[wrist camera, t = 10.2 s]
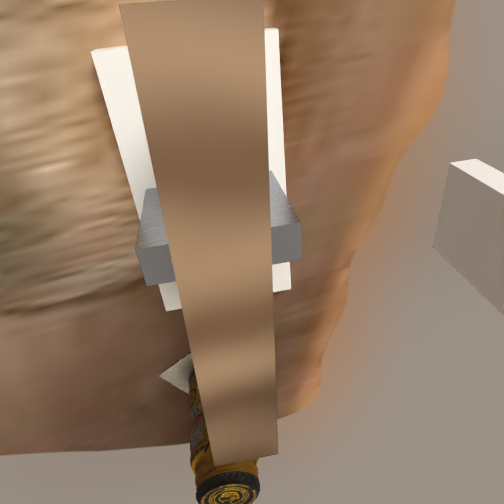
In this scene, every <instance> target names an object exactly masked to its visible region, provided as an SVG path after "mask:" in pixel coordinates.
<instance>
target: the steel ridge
mask: <svg viewBox="0 0 504 504" xmlns="http://www.w3.org/2000/svg"><path fill="white" fill-rule="evenodd" d="M269 186H270V217H271V248H272V265H274V264H280V263H285V262H291V261H297V260H302V246H301V222H300V220H299V218H298V216H297V215H296V213H295V211H294V209H293V207H292V206H291V204H290V202H289V200H288V199H287V197H286V195H285V193H284V192H283V190H282V188H281V186H280V184H279V183H278V181H277V179H276V177H275V176H274V174H273V172H272V170H269ZM135 250H136V253H137V257H138V260H139V263H140V266H141V269H142V273H143V276H144V279H145V282H146V285H147V286H152V285H158V284H164V283H169V282H175V281H176V278H175V273H174V268H173V263H172V259H171V254H170V249H169V244H168V239H167V235H166V230H165V225H164V220H163V215H162V210H161V206H160V201H159V196H158V191H157V188H151V189H146V191H145V197H144V202H143V208H142V214H141V219H140V225H139V231H138V237H137V242H136V248H135Z"/></svg>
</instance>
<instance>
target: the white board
mask: <svg viewBox="0 0 504 504" xmlns="http://www.w3.org/2000/svg"><path fill="white" fill-rule="evenodd" d="M264 32H265V63H266V94H267V124H268V155H269V170H272V172H273V174H274V176H275V177H276V179H277V181H278V183H279V184H280V186H281V188H282V190H283V192H284V193H285V195H286V178H285V158H284V138H283V117H282V97H281V77H280V57H279V37H278V29H276V28H267V29H264ZM91 54H92V58H93V61H94V64H95V68H96V71H97V75H98V78H99V82H100V85H101V88H102V92H103V95H104V99H105V102H106V106H107V109H108V113H109V116H110V119H111V123H112V126H113V130H114V133H115V137H116V140H117V144H118V147H119V150H120V154H121V157H122V161H123V164H124V168H125V171H126V174H127V178H128V181H129V185H130V188H131V192H132V195H133V199H134V202H135V205H136V209H137V212H138V216H139V219H141V214H142V208H143V202H144V197H145V191H146V189H151V188H157V186H156V182H155V177H154V172H153V167H152V162H151V158H150V153H149V148H148V143H147V138H146V134H145V129H144V124H143V119H142V114H141V110H140V105H139V100H138V95H137V90H136V86H135V81H134V76H133V71H132V66H131V61H130V57H129V52H128V47H127V45H126V46H118V47H110V48H101V49H95V50H93V51H91ZM272 278H273V292H277V291H283V290H289V289H291V279H290V262H285V263H280V264H274V265H272ZM158 285H159V288H160V291H161V295H162V298H163V302H164V305H165V309H166V311H171V310H176V309H182V307H181V302H180V297H179V292H178V287H177V283H176V281H175V282H169V283H164V284H158Z"/></svg>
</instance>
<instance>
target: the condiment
mask: <svg viewBox="0 0 504 504" xmlns="http://www.w3.org/2000/svg"><path fill="white" fill-rule="evenodd" d="M159 376H160V377H161V378H163V379H164V380H166V381H168V382H170V383H171V384H172V385H174V386H176V387H178V388H179V389H180V390H183V391H184V392H186V393H188V394H189V408H190V422H189V423H190V450H191V458H190V462H191V467H192V470H193V472H194V474H195V475H196V477H195V483H196V487H197V488H196V490H197V493H196V499H197V501H198V503H199V504H252V503H253V501H254V500H255V499H256V498H257V496H258V494H259V492H260V483H259V479H258V468H257V466H256V465H257V463H258V459H259V458H255V459H250V460H245V461H240V462H234V463H229V464H224V465H219V466H215V465H214V460H213V456H212V451H211V446H210V441H209V436H208V432H207V427H206V422H205V417H204V412H203V408H202V403H201V398H200V393H199V388H198V384H197V379H196V374H195V369H194V364H193V360H192V355H191V353H190V354H188V355H187V356H186V357H184V358H183V359H180V360H179V361H178V362H177V363H176V364H175V365H173V366H172V367H170V368H168V369H167V370H166V371H165V372H163V373H162V374H161V375H159Z"/></svg>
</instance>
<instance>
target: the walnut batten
mask: <svg viewBox="0 0 504 504" xmlns="http://www.w3.org/2000/svg"><path fill="white" fill-rule="evenodd" d="M119 9H120V13H121V18H122V23H123V28H124V33H125V37H126V42H127V47H128V52H129V57H130V61H131V66H132V71H133V76H134V81H135V86H136V90H137V95H138V100H139V105H140V110H141V114H142V119H143V124H144V129H145V134H146V138H147V143H148V148H149V153H150V158H151V162H152V167H153V172H154V177H155V182H156V186H157V191H158V196H159V201H160V206H161V210H162V215H163V220H164V225H165V230H166V235H167V239H168V244H169V249H170V254H171V259H172V263H173V268H174V273H175V278H176V283H177V287H178V292H179V297H180V302H181V307H182V311H183V316H184V321H185V326H186V331H187V335H188V340H189V345H190V350H191V355H192V360H193V364H194V369H195V374H196V379H197V384H198V388H199V393H200V398H201V403H202V408H203V412H204V417H205V422H206V427H207V432H208V436H209V441H210V446H211V451H212V456H213V460H214V465H215V466H219V465H224V464H229V463H234V462H240V461H245V460H250V459H255V458H260V457H265V456H271V455H276V454H278V434H277V402H276V371H275V340H274V309H273V278H272V248H271V217H270V186H269V155H268V124H267V94H266V63H265V32H264V1H263V0H173V1H158V2H143V3H128V4H119Z"/></svg>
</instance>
